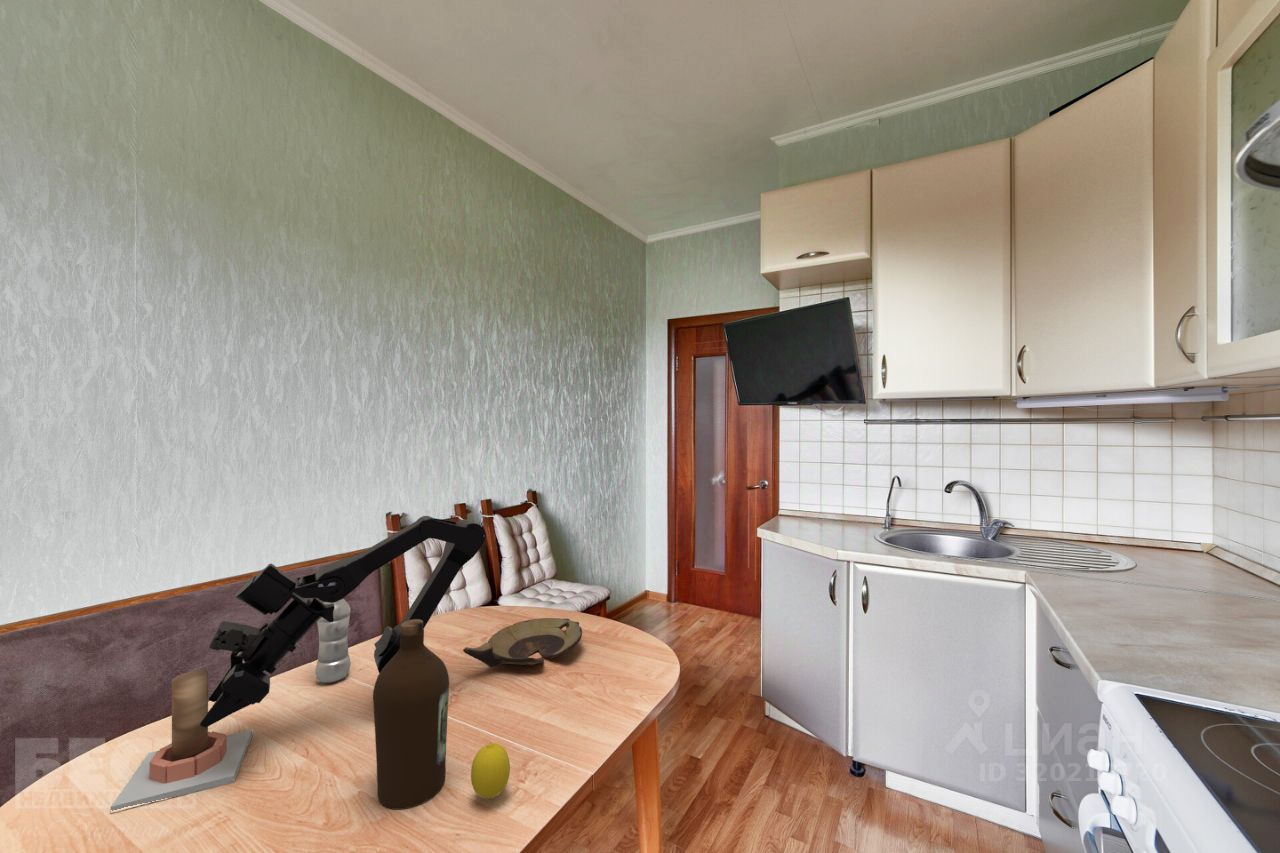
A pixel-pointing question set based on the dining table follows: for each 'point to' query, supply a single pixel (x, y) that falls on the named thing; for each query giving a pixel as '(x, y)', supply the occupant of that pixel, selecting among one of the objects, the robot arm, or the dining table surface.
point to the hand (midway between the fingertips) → (207, 712)
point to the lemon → (490, 770)
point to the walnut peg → (189, 714)
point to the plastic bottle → (334, 645)
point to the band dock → (185, 770)
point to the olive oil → (411, 722)
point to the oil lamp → (528, 642)
